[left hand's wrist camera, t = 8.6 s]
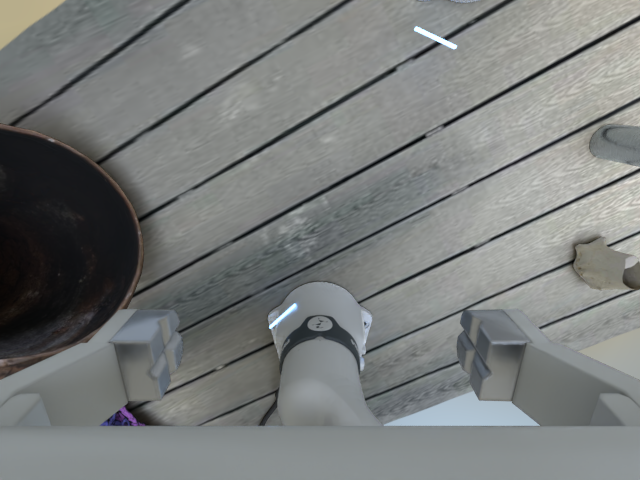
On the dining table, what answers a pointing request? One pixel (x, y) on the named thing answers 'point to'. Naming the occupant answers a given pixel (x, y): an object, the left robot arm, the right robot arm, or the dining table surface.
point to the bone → (606, 267)
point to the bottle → (617, 144)
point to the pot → (59, 248)
